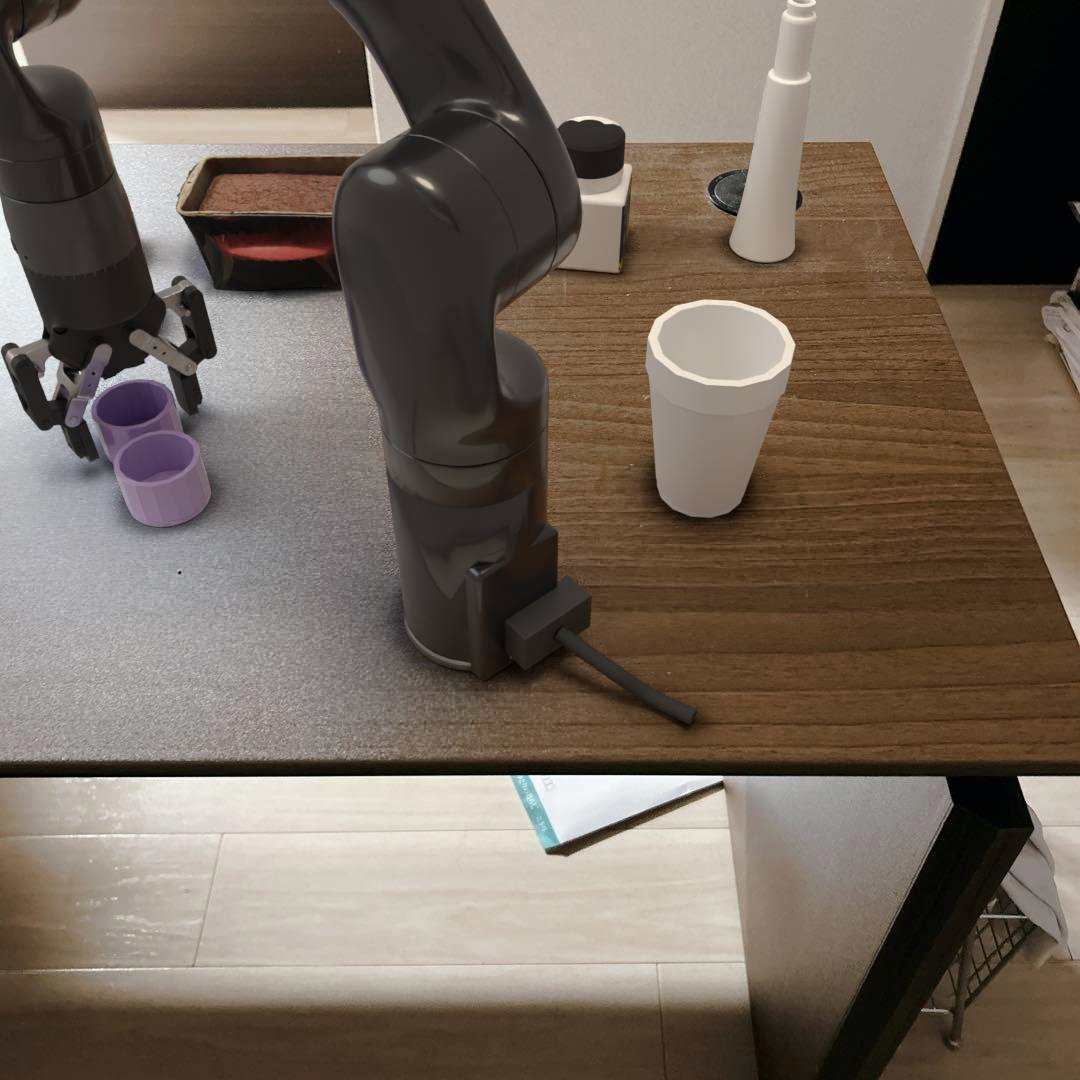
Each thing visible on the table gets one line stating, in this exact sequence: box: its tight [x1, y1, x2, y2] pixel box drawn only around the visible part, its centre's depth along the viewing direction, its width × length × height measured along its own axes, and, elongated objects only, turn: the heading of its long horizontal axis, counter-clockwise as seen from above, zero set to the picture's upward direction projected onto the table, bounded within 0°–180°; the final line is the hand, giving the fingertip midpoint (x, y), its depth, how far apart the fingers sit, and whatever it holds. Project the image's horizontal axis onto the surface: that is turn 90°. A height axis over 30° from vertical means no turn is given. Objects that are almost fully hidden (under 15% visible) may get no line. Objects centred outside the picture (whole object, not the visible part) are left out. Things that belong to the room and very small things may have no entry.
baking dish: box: [175, 153, 366, 291], centre depth 101 cm, size 14×18×10 cm
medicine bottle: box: [555, 115, 633, 274], centre depth 100 cm, size 7×7×12 cm
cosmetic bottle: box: [728, 0, 818, 264], centre depth 97 cm, size 6×6×22 cm
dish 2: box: [112, 430, 212, 528], centre depth 80 cm, size 6×6×4 cm
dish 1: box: [90, 378, 185, 465], centre depth 84 cm, size 6×6×4 cm
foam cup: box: [644, 299, 796, 519], centre depth 78 cm, size 10×9×13 cm
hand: (140, 431), depth 85 cm, fingers open, 7 cm apart
